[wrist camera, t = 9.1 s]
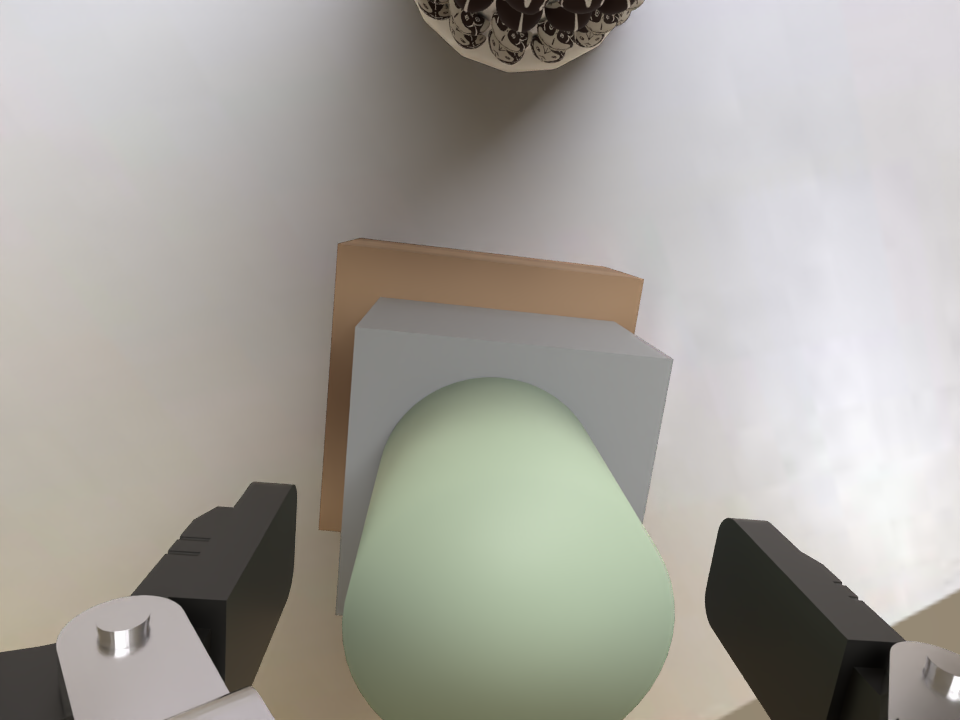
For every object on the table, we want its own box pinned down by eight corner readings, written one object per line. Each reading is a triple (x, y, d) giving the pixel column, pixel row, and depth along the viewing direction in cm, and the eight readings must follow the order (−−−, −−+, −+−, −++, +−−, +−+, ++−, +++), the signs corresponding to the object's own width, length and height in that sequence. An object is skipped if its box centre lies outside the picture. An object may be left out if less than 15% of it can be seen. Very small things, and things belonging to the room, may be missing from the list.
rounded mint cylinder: (611, 386, 14) (702, 487, 9) (581, 583, 15) (645, 768, 10) (384, 368, 13) (350, 464, 8) (372, 572, 15) (335, 758, 10)
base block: (567, 487, 25) (595, 552, 20) (344, 467, 25) (318, 529, 20) (602, 266, 23) (643, 279, 18) (361, 237, 23) (337, 243, 18)
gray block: (579, 533, 20) (621, 634, 15) (363, 515, 20) (335, 615, 15) (614, 321, 19) (673, 359, 14) (380, 297, 18) (355, 326, 13)
